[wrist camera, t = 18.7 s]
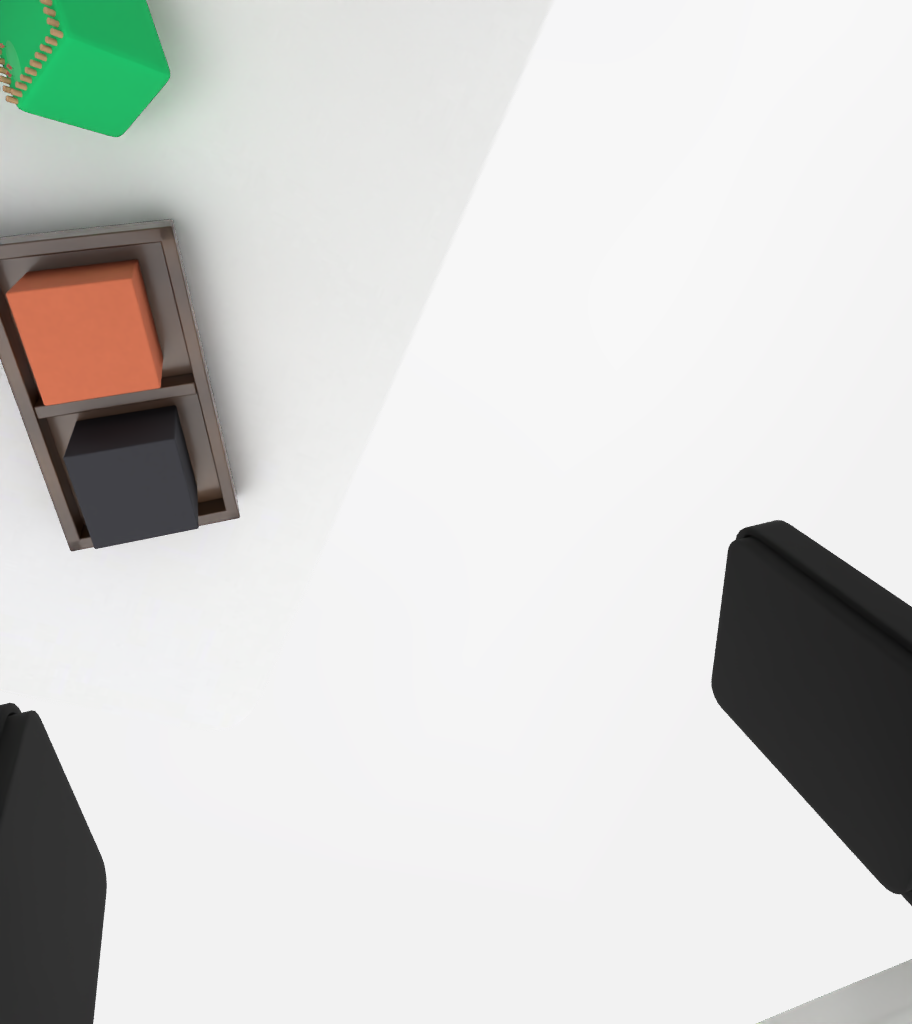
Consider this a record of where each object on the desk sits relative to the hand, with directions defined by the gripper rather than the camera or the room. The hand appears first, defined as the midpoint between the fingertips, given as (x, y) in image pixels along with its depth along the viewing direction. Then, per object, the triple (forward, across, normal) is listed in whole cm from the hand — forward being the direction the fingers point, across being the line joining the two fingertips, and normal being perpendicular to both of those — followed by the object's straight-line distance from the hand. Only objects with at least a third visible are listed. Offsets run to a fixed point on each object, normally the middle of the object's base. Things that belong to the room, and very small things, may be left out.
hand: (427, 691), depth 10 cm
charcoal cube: (+29, +7, +7) cm, 31 cm away
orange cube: (+29, +7, +1) cm, 30 cm away
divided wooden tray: (+30, +7, +4) cm, 31 cm away
